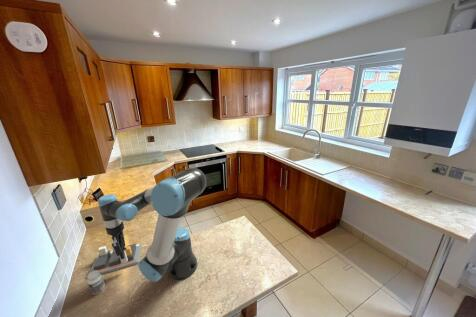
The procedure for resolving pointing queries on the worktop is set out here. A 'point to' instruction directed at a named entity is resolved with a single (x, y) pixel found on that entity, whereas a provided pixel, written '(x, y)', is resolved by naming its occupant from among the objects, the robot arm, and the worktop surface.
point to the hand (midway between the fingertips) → (124, 261)
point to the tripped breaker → (128, 251)
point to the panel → (115, 259)
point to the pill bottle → (95, 282)
